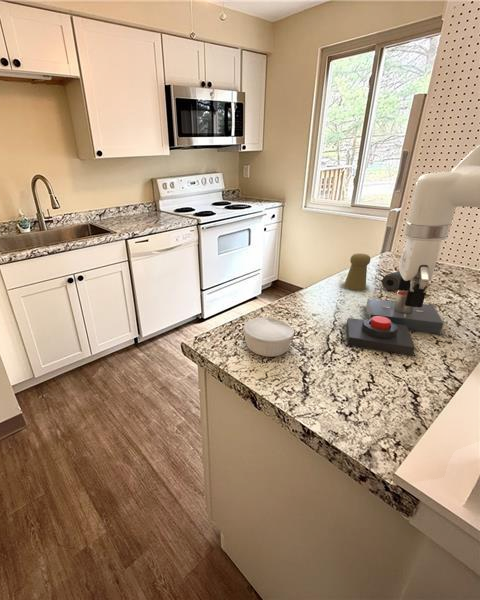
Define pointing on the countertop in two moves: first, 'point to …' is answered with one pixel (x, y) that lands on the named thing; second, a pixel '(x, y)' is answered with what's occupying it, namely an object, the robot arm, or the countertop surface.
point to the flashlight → (392, 281)
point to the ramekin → (268, 336)
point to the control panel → (407, 316)
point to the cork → (357, 272)
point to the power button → (380, 322)
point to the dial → (401, 302)
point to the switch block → (379, 336)
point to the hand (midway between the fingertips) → (409, 297)
